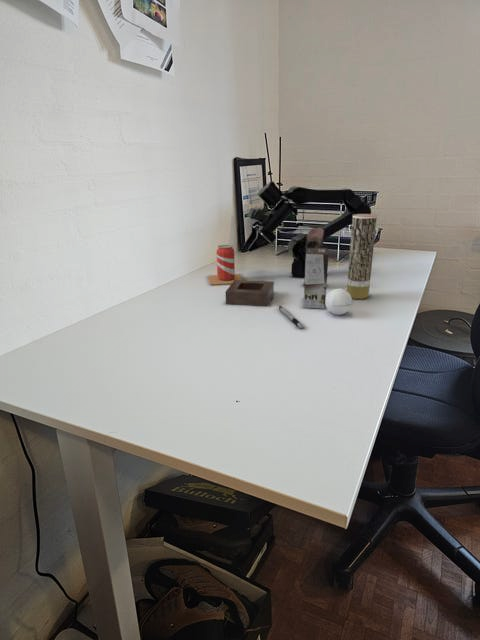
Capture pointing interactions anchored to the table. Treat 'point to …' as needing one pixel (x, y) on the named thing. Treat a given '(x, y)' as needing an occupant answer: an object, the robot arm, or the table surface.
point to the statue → (315, 239)
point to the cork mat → (216, 281)
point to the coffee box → (315, 277)
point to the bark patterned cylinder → (361, 255)
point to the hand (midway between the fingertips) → (246, 248)
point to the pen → (291, 317)
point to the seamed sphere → (338, 301)
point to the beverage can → (225, 262)
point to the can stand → (250, 292)
